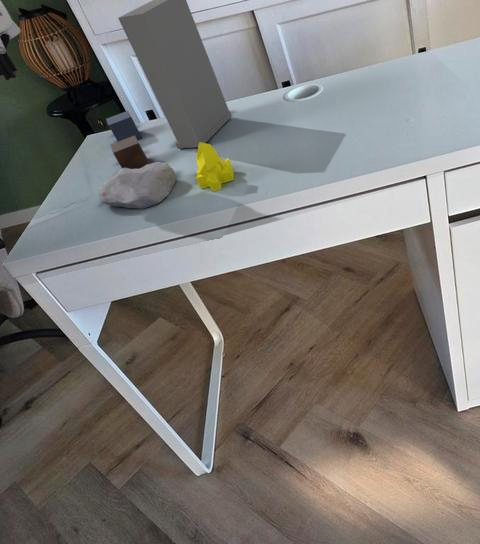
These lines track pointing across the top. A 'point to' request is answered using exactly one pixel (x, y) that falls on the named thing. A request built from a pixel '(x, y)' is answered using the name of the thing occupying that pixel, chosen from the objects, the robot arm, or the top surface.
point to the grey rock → (139, 186)
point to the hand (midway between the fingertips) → (11, 77)
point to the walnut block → (129, 153)
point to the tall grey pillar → (177, 69)
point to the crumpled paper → (212, 168)
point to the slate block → (123, 126)
